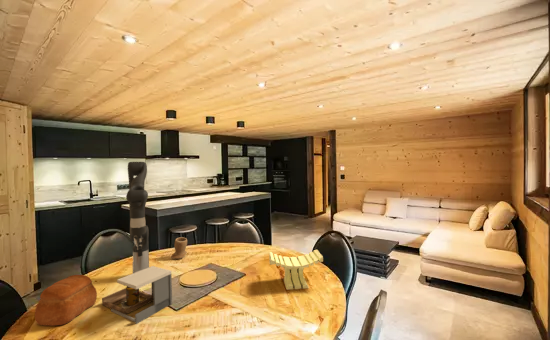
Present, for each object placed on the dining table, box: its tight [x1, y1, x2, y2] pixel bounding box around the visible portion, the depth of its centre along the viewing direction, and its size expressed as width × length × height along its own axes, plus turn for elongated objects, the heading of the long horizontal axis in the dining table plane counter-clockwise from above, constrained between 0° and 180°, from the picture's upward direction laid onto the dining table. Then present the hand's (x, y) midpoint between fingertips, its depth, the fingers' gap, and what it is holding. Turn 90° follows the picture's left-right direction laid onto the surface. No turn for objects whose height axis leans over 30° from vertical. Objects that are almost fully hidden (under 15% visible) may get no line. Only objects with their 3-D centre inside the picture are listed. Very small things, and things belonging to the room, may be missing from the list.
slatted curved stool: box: [268, 249, 324, 290], centre depth 157 cm, size 30×16×18 cm, turn 96°
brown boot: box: [170, 236, 188, 260], centre depth 207 cm, size 15×12×15 cm
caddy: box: [101, 287, 154, 315], centre depth 138 cm, size 20×16×4 cm
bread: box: [34, 274, 98, 327], centre depth 128 cm, size 18×22×17 cm
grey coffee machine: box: [110, 265, 173, 325], centre depth 132 cm, size 22×19×18 cm
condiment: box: [120, 286, 141, 309], centre depth 137 cm, size 7×8×12 cm
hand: (138, 254), depth 146 cm, fingers open, 8 cm apart
